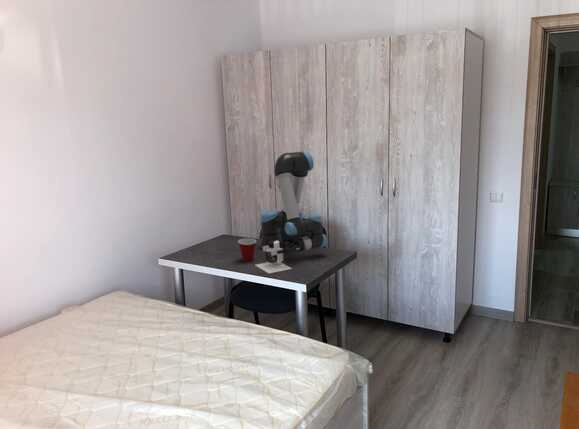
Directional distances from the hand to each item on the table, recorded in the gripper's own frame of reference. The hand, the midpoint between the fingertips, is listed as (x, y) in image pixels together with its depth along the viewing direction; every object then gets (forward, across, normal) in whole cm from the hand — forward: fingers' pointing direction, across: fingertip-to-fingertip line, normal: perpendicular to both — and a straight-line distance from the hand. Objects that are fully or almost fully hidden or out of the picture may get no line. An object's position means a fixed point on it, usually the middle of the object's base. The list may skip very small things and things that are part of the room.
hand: (267, 250), depth 263 cm
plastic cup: (+4, +18, -9) cm, 21 cm away
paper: (-2, -2, -9) cm, 10 cm away
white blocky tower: (-4, 0, -7) cm, 8 cm away
